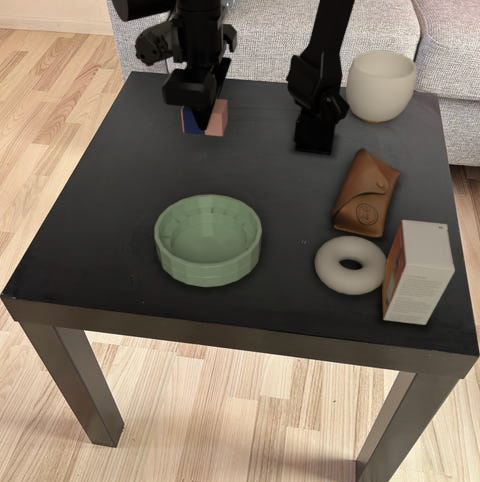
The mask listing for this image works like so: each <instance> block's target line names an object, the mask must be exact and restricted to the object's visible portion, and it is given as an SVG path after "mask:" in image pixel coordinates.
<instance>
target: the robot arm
mask: <svg viewBox="0 0 480 482" xmlns="http://www.w3.org/2000/svg"><path fill="white" fill-rule="evenodd" d="M355 2H356V0H319V2H318V4H317V5H318V6H317V10H316V14H315V17H314V22H313V25H312V30H311V34H310V37H309V41H308V44H307V45H306V47H305V48H304V49H303V50H302V51H301V53H300V54H299V55H298V54H293V55H292V56H291V58H290V62H289V63H290V64H289V70H288V73H287V75H286V77H285V81H286V82H287V92H288V93H289V95H290V97H291V98H292V99H293V103H294V105H295V106H298V107H299V108H301V109H300V112H299V113H298V114H297V115H296V120H295V127H294V138H293V141H294V143H295V147H294V150H295V151H296V152H302V153H310V154H311V153H312V154H318V155H327V156H330V155H332V153H333V147H334V140H335V132H336V131H335V129H336V125H339V124H340V121H342V120H345V119H346V118H347V115H348V113H349V110H350V109H351V108H350V105H349V104H348V103H347V100H346V99H345V98H344V97H343V96H342V95H341V94H340V91H341V86H342V82H343V68H342V67H343V66H342V61H341V50H342V46H343V42H344V40H345V36H346V33H347V29H348V25H349V23H350V19H351V15H352V12H353V9H354V6H355ZM111 3H112V6H113V8H114V10H115V13H116V14H117V16H118V18H119V19H120V21H122V22H124V23H128V22H132V21H135V20H140V19H144V18H148V17H153V16H157V15H161V14H165V13H169V12H170V11H171V10H172V8H174V7H175V13H174V15H173V16H172V17H171V19H169V20H165V21H162V22H159V23H157V24H153V25H152V26H149V27H147V28H145V29H143V31H142V32H140V33H139V34H138V36H137V37H136V39H135V41H134V43H135V44H134V46H133V47H134V49H135V52H136V53H135V55H134V56H135V58H136V59H137V60H139V61H140V62H141V63H142V64H144V65H145V66H146V67H153V66H154V65H155V64H156V63H159V62H163V61H165V60H168V59H171V58H172V61H173V64H180V65H181V64H183V63H186V65H185V67H184V68H179V67H178V68H177V67H175V68H174V69H173V70H172V71H171V72H170V73H169V74H168V76H167V77H166V79H165V81H164V82H163V85H162V86H161V93H162V100H163V103H164V104H165V105H167V106H177V107H183V106H187V107H190V108H191V111H192V113H193V115H194V118H195V120H196V123H197V125H198V128H199V129H200V130H207V127H208V124H209V121H210V118H211V115H212V112H213V109H214V106H215V102H216V99H220V95H221V94H222V93H221V92H222V90H223V88H224V87H223V86H224V84H225V81H226V79H227V75H228V72H229V69H230V67H231V64H232V61H233V59H232V58H231V57H230V56H229V57H227V56H224V55H225V53H226V51H227V49H228V51H229V53H235V51H236V50H237V46H238V31H237V30H236V28H235V27H234V26H233V25H232V24H231V23H223V21H224V20H225V18H226V15H227V10H226V9H227V8H226V5H223V1H222V0H111ZM227 47H228V48H227Z"/></svg>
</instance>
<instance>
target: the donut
mask: <svg viewBox="0 0 480 482" xmlns="http://www.w3.org/2000/svg"><path fill="white" fill-rule="evenodd" d="M344 260H345V261H346V260H350V261H355V262H356V263H358V264H360V265H361V267H362V268H359V269H350V268H347V267H344V266H343V265H341V263H340V262H342V261H344ZM386 261H387V257H386V255H385V254H384V252H383V250H382V249H381V248H380V247H379V246H378V245H376V243H374V242H372V241H370V240H368V239H365V238H363V237H359V236H355V235H342V236H337V237H334V238H331V239H329V240H327V241H326V242H325V243H323V244H322V245H321V246H320V247H319V249H318V250H317V252H316V255H315V258H314V268H315V273H316V274H317V276H318V277H319V279H320V281H321V283H323V284H324V285H325V286H326V287H328V288H329V289H331V290H332V291H335V292H337V293H339V294H340V293H341V294H344V295H348V296H350V295H351V296H356V295H357V296H358V295H364V294H368V293H371V292H372V291H375V290H376V289H377V288H379V287H380V286H382V282H383V280H384V277H385V264H386Z"/></svg>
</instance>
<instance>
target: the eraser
mask: <svg viewBox="0 0 480 482" xmlns="http://www.w3.org/2000/svg"><path fill="white" fill-rule="evenodd" d="M180 116H181V117H180V118H181V125H182V133H184V134H191V135H201V136H212V137H213V136H214V137H223V136H224V133H225V130H226V128H227V125H228V122H229V120H228V119H229V118H228V117H229V116H228V99H222V98H218V99H216V102H215V106H214V109H213V112H212V115H211V118H210V121H209V124H208V127H207V130H200V129H199V128H198V125H197V123H196V120H195V118H194V115H193V113H192V111H191V108H190V107H187V106H181V109H180Z"/></svg>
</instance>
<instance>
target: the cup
mask: <svg viewBox="0 0 480 482" xmlns="http://www.w3.org/2000/svg"><path fill="white" fill-rule="evenodd" d="M417 73H418V72H417V64H416V62H414V60H413V59H412V58H410V57H408V56H407V55H405V54H403V53H399V52H395V51H393V50H392V51H391V50H379V49H378V50H368V51H365V52H361V53H359V54H358V55H356V57H354V59H353V60H352V62H351V64H350V67H349V69H348V74H347V79H346V85H345V97H346V102H347V103H348V104H349V105H350V108H349V109H350V110H351V112H352V114H354V115H355V116H357V118H359V119H361V120H362V121H364V122H367V123H370V124H380V123H384V122H388V121H390V120H393V119H395V118H396V117H398V116H399V115H400V114H401V113H403V111H404V110H405V109H406V108H407V106H408V104H409V103H410V101H411V99H412V98H413V95H414V92H415V88H416V85H417Z"/></svg>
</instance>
